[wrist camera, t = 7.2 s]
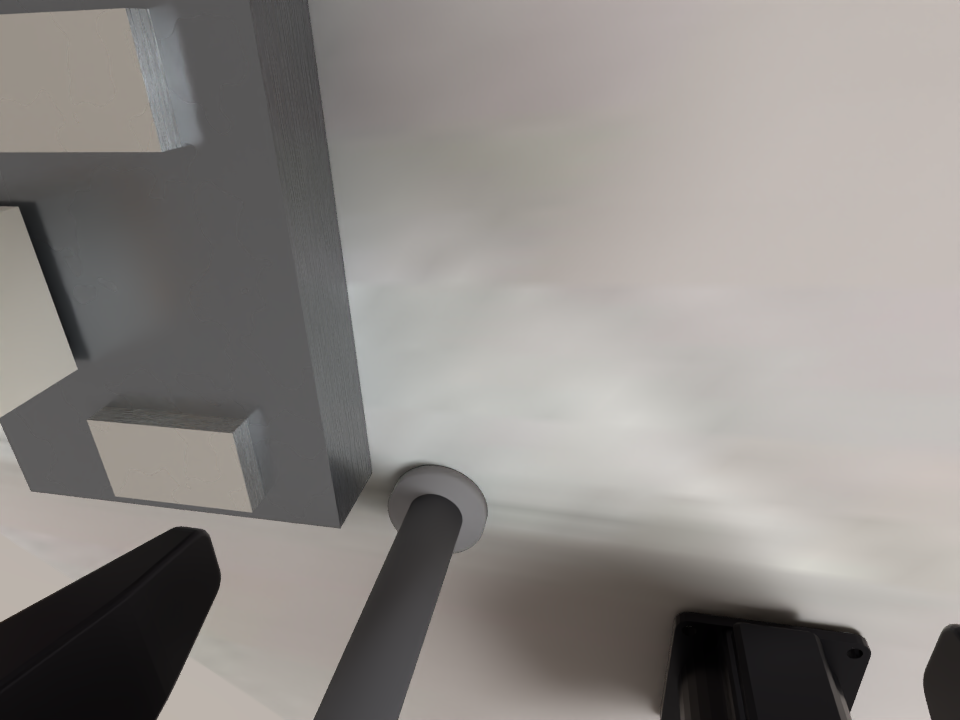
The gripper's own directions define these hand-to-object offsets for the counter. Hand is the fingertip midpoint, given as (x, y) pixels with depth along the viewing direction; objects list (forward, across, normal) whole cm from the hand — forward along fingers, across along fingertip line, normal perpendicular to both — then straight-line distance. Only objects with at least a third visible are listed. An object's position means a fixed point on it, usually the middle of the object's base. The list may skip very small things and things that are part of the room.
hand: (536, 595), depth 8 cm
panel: (+12, +14, 0) cm, 18 cm away
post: (+12, +5, +9) cm, 16 cm away
